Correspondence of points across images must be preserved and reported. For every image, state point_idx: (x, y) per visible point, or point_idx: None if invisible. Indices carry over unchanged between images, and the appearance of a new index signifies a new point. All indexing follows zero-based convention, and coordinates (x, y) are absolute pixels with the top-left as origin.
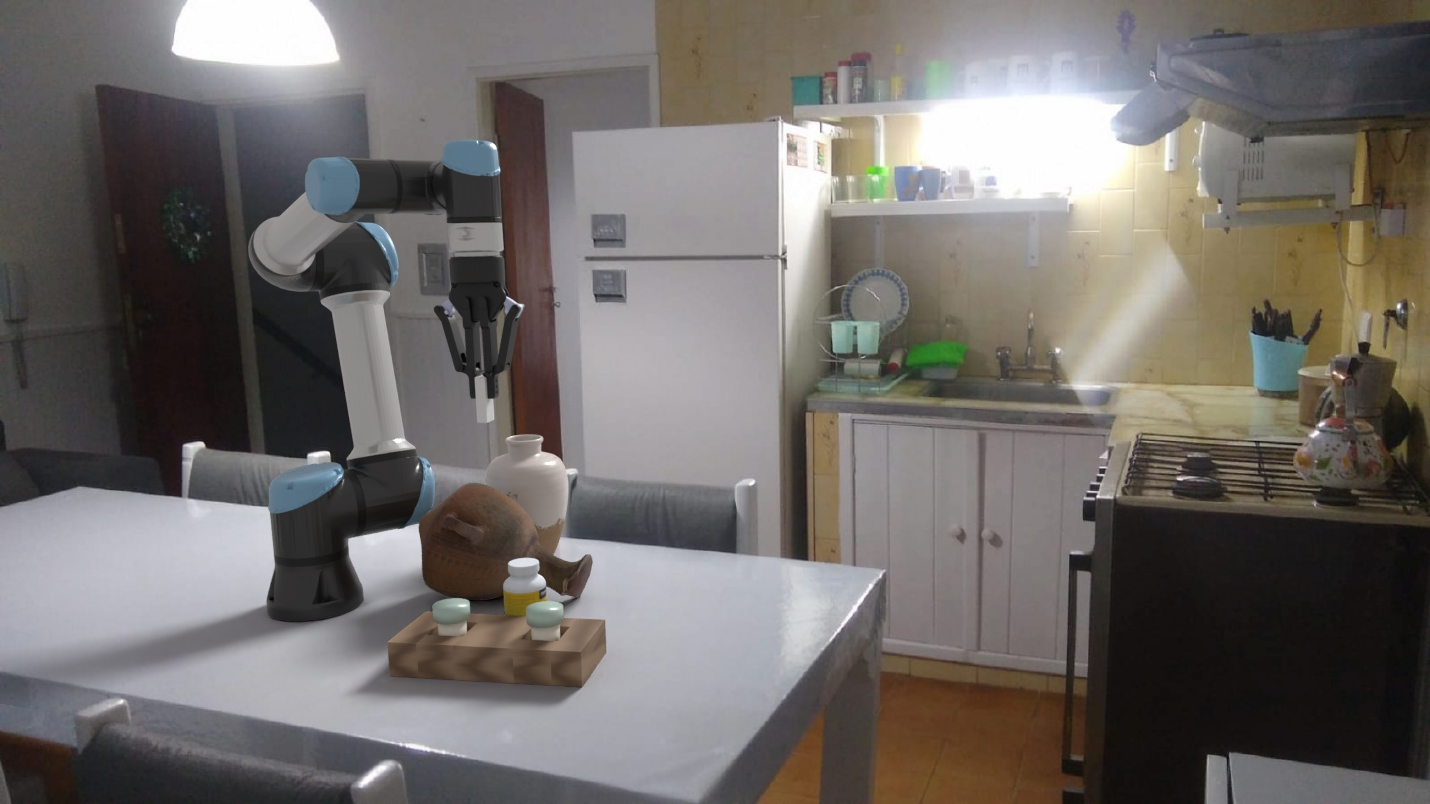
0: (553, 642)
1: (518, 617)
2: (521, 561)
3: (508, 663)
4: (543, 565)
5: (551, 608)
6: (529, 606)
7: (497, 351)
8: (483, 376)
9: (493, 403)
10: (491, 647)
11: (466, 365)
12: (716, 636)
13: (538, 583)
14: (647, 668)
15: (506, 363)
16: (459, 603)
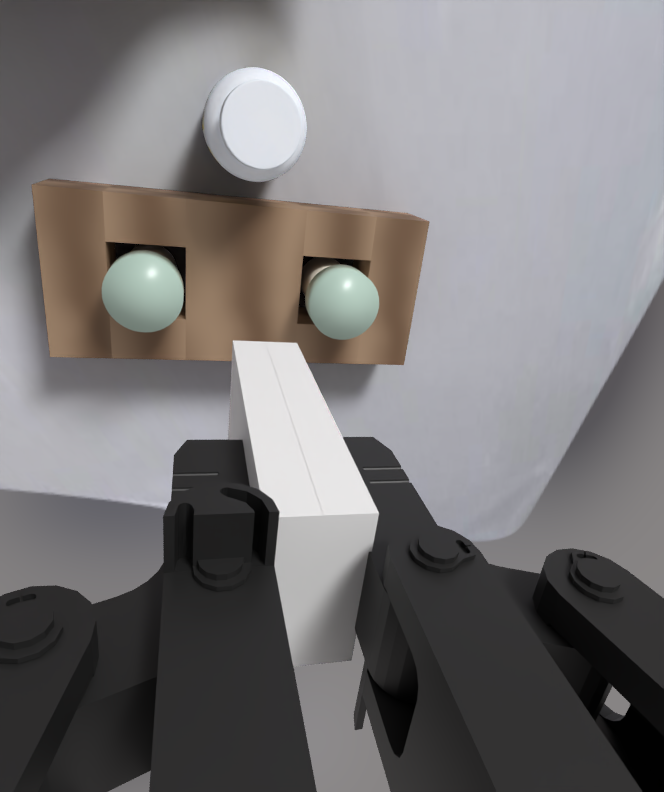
0: None
1: (261, 215)
2: (254, 117)
3: None
4: None
5: (359, 310)
6: (315, 302)
7: (627, 788)
8: (321, 612)
9: (315, 382)
10: None
11: (137, 774)
12: (584, 131)
13: (298, 152)
14: (472, 273)
15: (626, 722)
16: (159, 289)
